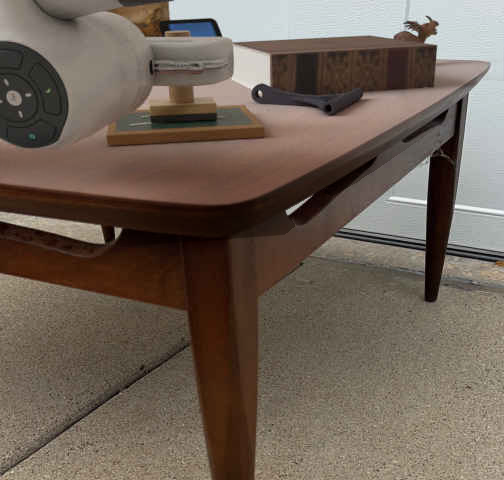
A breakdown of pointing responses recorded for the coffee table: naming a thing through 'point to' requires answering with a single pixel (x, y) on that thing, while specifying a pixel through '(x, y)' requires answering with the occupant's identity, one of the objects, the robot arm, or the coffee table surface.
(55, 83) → the robot arm
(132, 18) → the rough brown rock
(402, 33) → the dragon figurine
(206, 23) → the game console
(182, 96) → the wooden stamp
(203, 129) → the board
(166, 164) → the coffee table surface
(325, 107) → the bracket
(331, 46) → the book
